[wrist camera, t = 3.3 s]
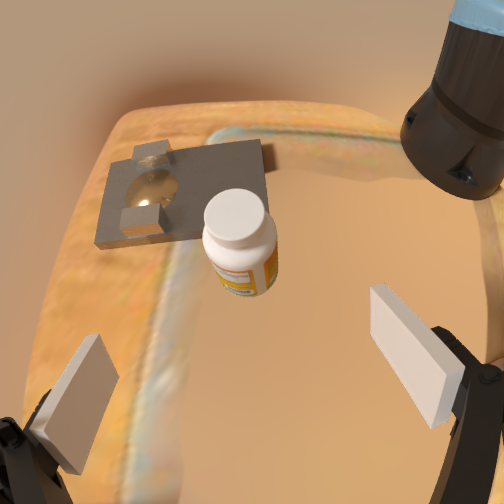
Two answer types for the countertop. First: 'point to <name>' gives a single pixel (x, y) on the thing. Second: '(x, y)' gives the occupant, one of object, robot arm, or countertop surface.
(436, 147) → the robot arm
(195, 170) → the hinge plate
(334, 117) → the countertop surface
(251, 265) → the supplement bottle
